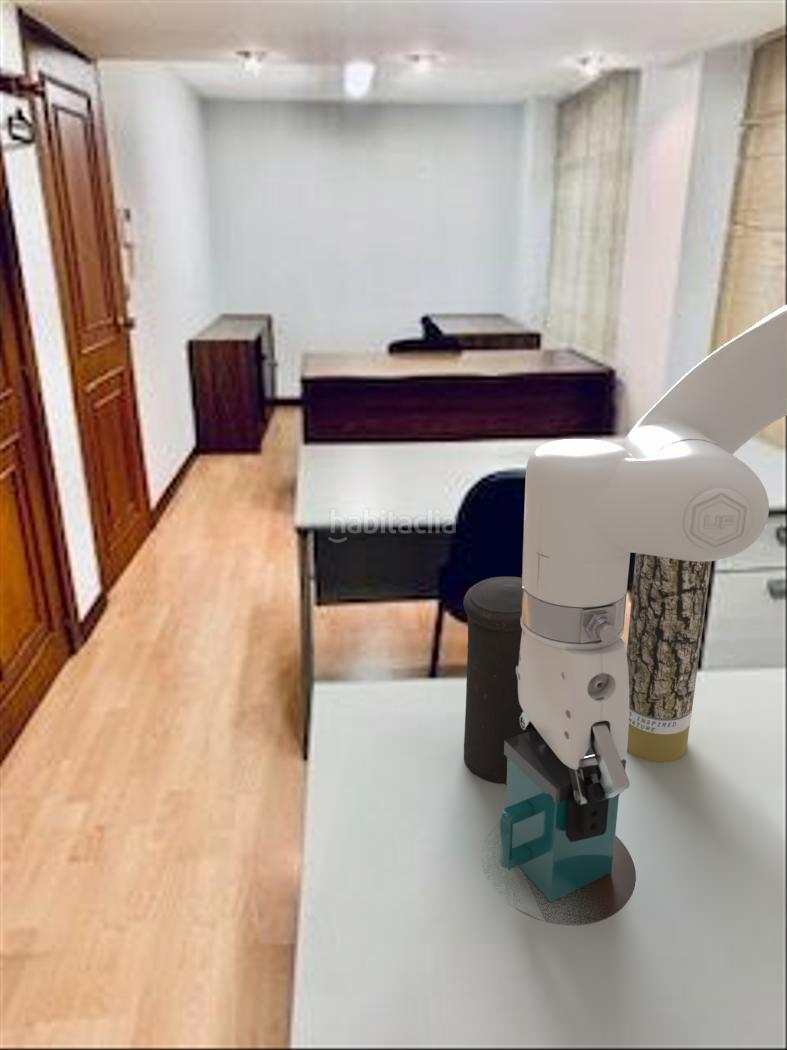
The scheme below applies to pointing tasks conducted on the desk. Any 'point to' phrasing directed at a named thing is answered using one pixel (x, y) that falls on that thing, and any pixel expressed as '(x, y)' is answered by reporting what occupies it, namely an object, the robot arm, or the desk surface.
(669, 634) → the paper tube
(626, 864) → the turntable
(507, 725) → the container
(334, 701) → the desk surface
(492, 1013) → the desk surface
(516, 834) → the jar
